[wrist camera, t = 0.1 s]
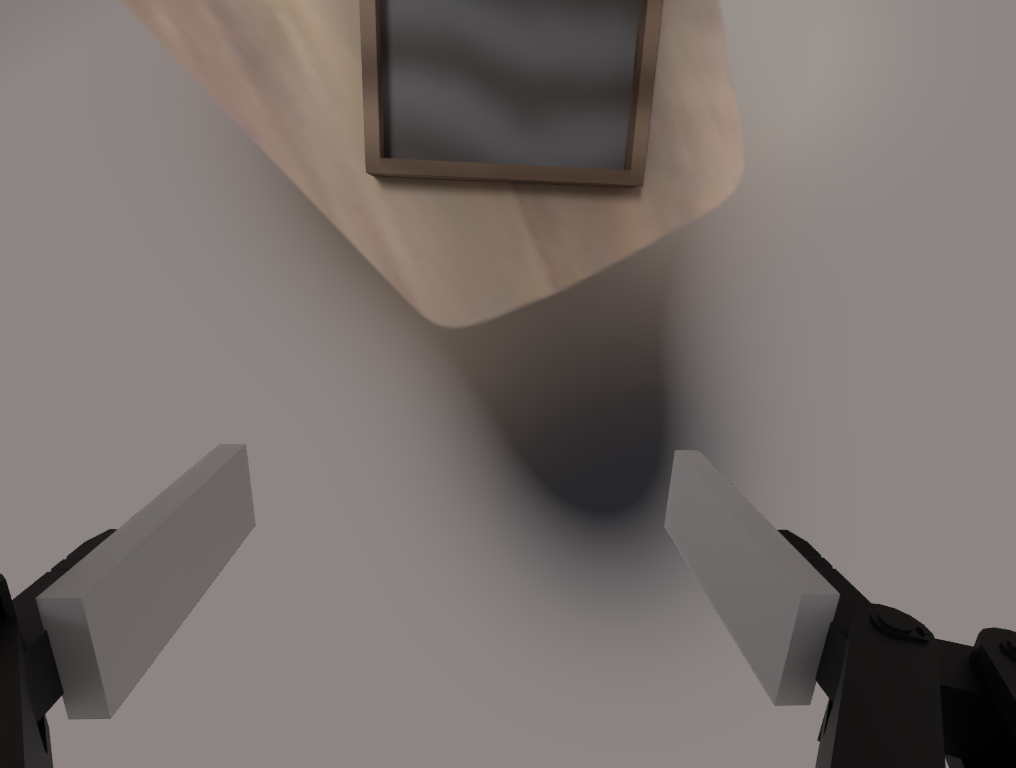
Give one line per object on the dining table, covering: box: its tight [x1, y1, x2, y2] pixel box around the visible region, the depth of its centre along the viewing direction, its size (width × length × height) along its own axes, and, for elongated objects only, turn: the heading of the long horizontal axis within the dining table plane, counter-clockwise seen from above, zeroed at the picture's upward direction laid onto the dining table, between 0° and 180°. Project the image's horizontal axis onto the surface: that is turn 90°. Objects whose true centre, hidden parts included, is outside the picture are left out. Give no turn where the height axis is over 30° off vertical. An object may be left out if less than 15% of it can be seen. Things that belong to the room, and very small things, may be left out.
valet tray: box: [359, 0, 663, 188], centre depth 36 cm, size 14×20×3 cm
